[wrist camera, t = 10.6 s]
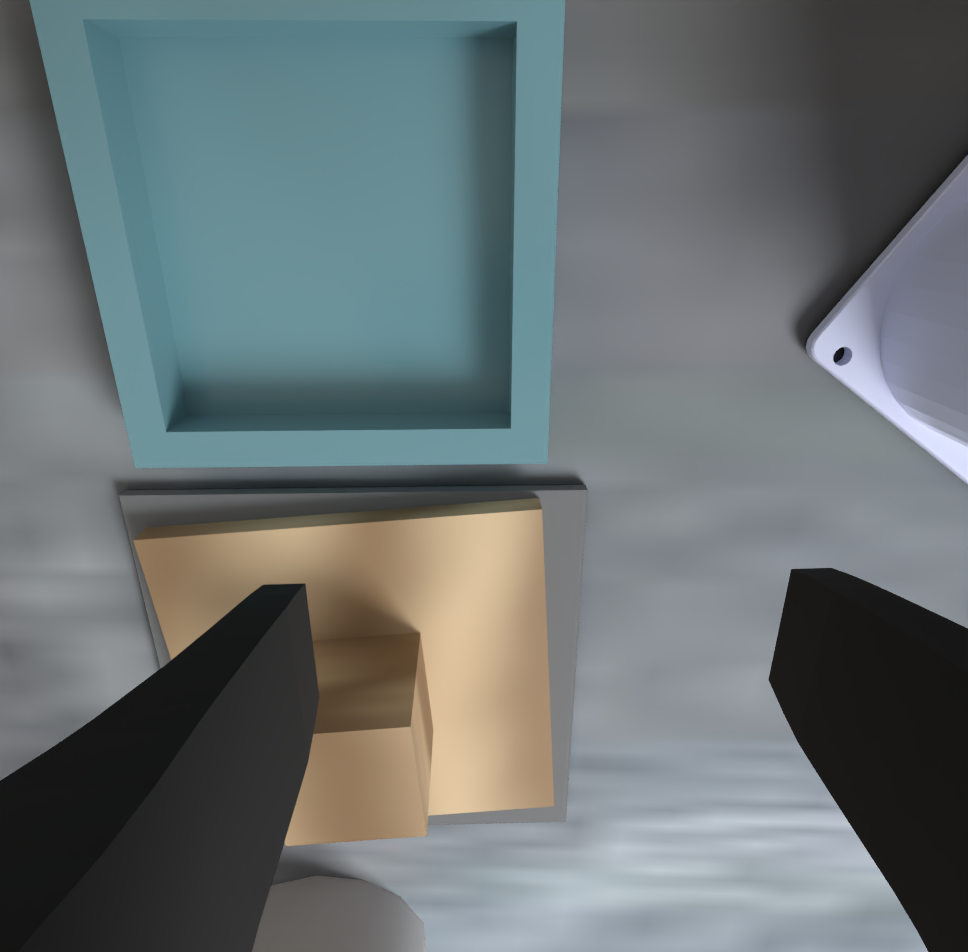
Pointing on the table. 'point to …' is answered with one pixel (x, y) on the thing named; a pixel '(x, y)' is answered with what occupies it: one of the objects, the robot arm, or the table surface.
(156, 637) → the rubber mat
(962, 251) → the robot arm
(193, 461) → the teal dish
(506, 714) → the oak cover
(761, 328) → the table surface
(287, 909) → the cup
